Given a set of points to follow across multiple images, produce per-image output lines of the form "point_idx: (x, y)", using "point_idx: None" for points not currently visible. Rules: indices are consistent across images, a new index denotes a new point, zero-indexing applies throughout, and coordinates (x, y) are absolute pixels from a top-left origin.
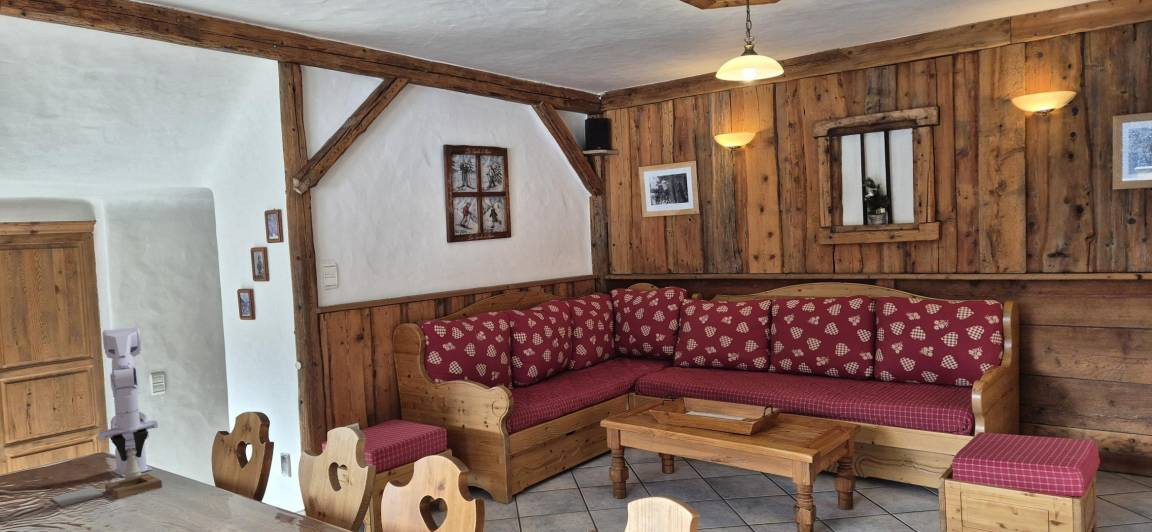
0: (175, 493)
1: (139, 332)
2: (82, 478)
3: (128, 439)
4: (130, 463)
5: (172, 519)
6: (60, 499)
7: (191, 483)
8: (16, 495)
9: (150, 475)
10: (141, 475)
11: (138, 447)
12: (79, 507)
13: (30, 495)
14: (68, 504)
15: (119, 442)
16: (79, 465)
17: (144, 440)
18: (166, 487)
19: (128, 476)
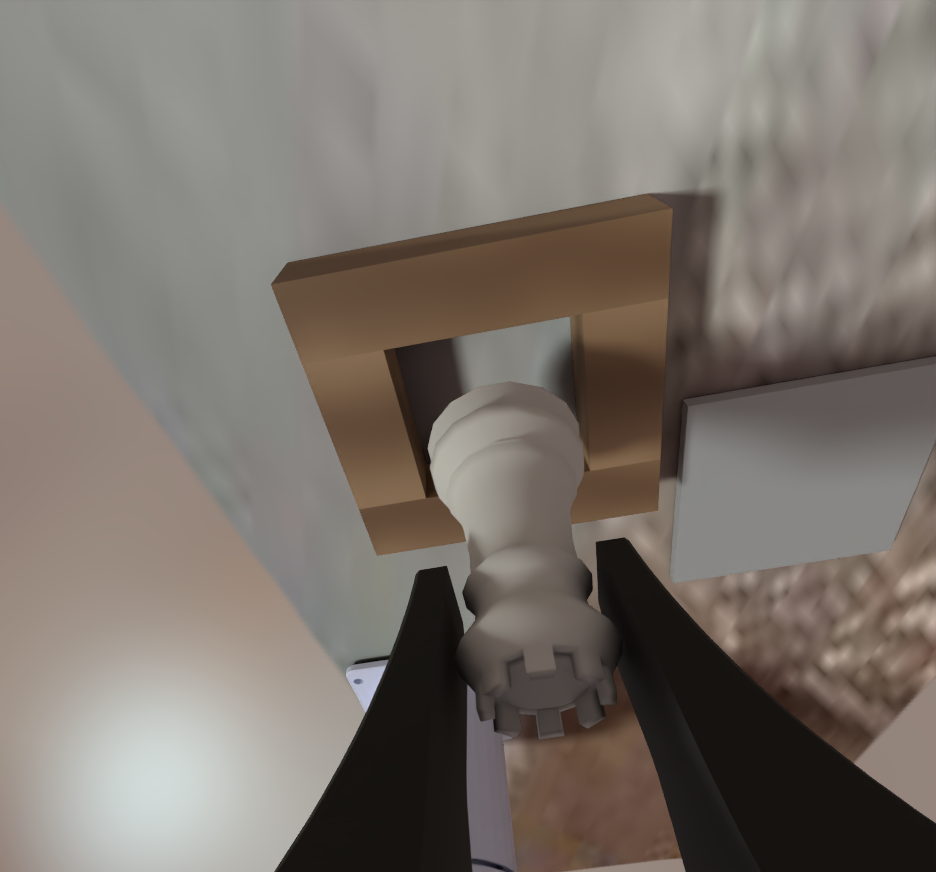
0: None
1: None
2: (638, 722)
3: None
4: (542, 508)
5: None
6: (894, 479)
7: (4, 165)
8: (909, 678)
9: (359, 500)
10: (417, 539)
11: (440, 698)
12: (921, 225)
13: (884, 648)
14: (917, 360)
15: (897, 836)
16: (590, 831)
17: (323, 810)
18: (248, 231)
19: (552, 408)
